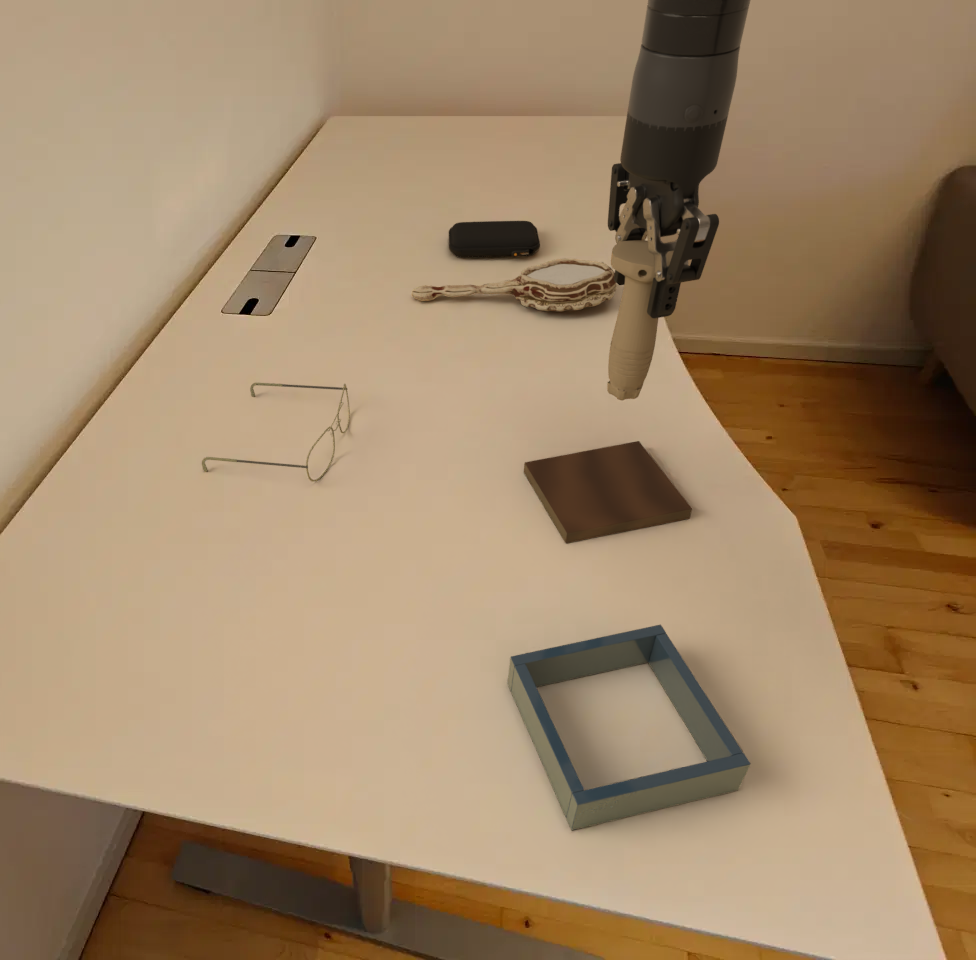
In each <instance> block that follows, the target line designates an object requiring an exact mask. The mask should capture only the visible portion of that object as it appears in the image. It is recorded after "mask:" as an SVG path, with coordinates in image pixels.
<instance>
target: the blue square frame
mask: <svg viewBox="0 0 976 960" xmlns="http://www.w3.org/2000/svg"><path fill="white" fill-rule="evenodd" d="M643 664H648V665H649V667H650V669H651V670H652V672H653V673H654V675H655V676H656V677H655V678H657V680H658V682H659V683H660V685H661V686H662V687H661V688H663V690H664V692H665V693H666V695H667V697H668V699H669V700H670V702H671V703H672V705H673V706H674V709H675V710H676V711H677V713H678V715H679V717H680V718H681V719H682V722H683V723H684V724H685V726H686V728H687V730H688V731H689V733H690V734H691V736H692V738H693V740H694V741H695V744H696V745H697V746H698V748H699V750H700V751H701V753H702V755H703V757H704V758H705V759H706V761H703V762H699V763H695V764H690V765H685V766H682V767H677V768H674V769H673V768H672V769H669V770H665V771H660V772H657V773H653V774H648V775H645V776H644V775H643V776H639V777H634V778H631V779H627V780H623V781H618V782H614V783H613V782H612V783H610V784H606V785H601V786H597V787H596V786H595V787H592V788H589V789H584V786H583V784H582V782H581V779H580V777H579V775H578V774H577V773H578V772H577V771H576V769H575V767H574V765H573V763H572V761H571V759H570V756H569V755H568V752H567V750H566V747H565V745H564V744H563V743H564V742H563V741H562V738H561V737H560V735H559V733H558V731H557V729H556V726H555V725H554V724H555V723H554V722H553V720H552V717H551V715H550V713H549V711H548V709H547V707H546V705H545V702H544V700H543V698H542V696H541V694H540V691H539V690H538V687H542V686H549V685H552V684H557V683H561V682H565V681H570V680H575V679H580V678H583V677H589V676H593V675H597V674H602V673H606V672H612V671H615V670H616V671H617V670H620V669H626V668H629V667H634V666H635V667H636V666H638V665H643ZM507 674H508V675H507V676H508V677H507V682H506V685H507V687H508V688H509V691H510V693H511V695H512V698H513V699H514V702H515V704H516V707H517V709H518V711H519V714H520V717H521V718H522V721H523V723H524V725H525V727H526V730H527V732H528V734H529V736H530V737H529V738H530V739H531V741H532V743H533V746H534V748H535V750H536V752H537V755H538V758H539V759H540V762H541V765H542V766H543V768H544V771H545V773H546V776H547V778H548V780H549V783H550V784H551V787H552V790H553V792H554V794H555V797H556V799H557V801H558V803H559V806H560V808H561V810H562V812H563V815H564V818H565V820H566V821H567V824H568V826H569V828H570V830H571V831H576V830H579V829H583V828H587V827H591V826H597V825H601V824H604V823H608V822H612V821H617V820H621V819H625V818H630V817H633V816H638V815H642V814H645V813H649V812H655V811H658V810H663V809H667V808H671V807H675V806H679V805H683V804H684V805H685V804H688V803H692V802H696V801H700V800H704V799H709V798H713V797H717V796H720V795H725V794H729V793H734V792H737V791H739V789H740V787H741V785H742V783H743V781H744V779H745V777H746V775H747V773H748V772H749V769H750V768H751V765H752V764H751V762H750V760H749V759H748V757H747V755H746V754H745V753H744V751H743V750H742V748H741V746H740V745H739V743H738V742H737V741H736V739H735V737H734V736H733V734H732V732H731V731H730V730H729V727H727V725H726V723H725V721H724V720H723V719H722V718H721V715H720V714H719V712H718V711H717V709H716V707H715V706H714V704H713V703H712V702H711V701H710V700H711V699H709V697H708V696H707V694H706V693H705V691H704V689H703V688H702V686H701V685H700V683H699V681H698V680H697V678H696V677H695V675H694V674H693V672H692V670H691V669H690V668H689V666H688V664H687V662H686V661H685V660H684V658H683V657H682V656H681V654H680V652H679V650H678V649H677V647H676V646H675V644H674V643H673V641H672V640H671V638H670V637H669V635H668V633H667V631H666V630H665V629H664V627H663V626H662V624H655V625H651V626H646V627H642V628H638V629H637V628H636V629H633V630H628V631H623V632H619V633H613V634H609V635H605V636H602V637H596V638H591V639H585V640H581V641H577V642H571V643H567V644H562V645H558V646H553V647H548V648H544V649H543V648H542V649H538V650H535V651H529V652H525V653H519V654H515V655H511V656H510V657H509V665H508V673H507Z"/></svg>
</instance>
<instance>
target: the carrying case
mask: <svg viewBox="0 0 976 960" xmlns="http://www.w3.org/2000/svg"><path fill="white" fill-rule="evenodd" d="M540 248H541V241H540V237H539V232H538V228H537V227H536V226H535V225H534V223H533V222H531V221H530V220H529V221H528V220H489V221H488V220H487V221H485V220H484V221H460V222H456V223H455V224H453V225H452V226H451V227H450V228H449V230H448V250H449V252H450V253H452V254H453V256H455V257H457V258H463V259H464V258H468V259H469V258H471V259H472V258H521V257H530V256H533V255H535V254H536V253H537V252H538V251H539V250H540Z"/></svg>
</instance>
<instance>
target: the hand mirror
mask: <svg viewBox="0 0 976 960" xmlns="http://www.w3.org/2000/svg"><path fill="white" fill-rule="evenodd" d="M614 274H615V270H614V269H613V268H612V267H610V266H609V265H608V264H606V263H604V262H601V261H594V260H586V259H577V258H557V259H552V260H549V261H546V262H543V263H540V264H537V265H531V266H528V267H526V268H524V269H522V271H520V274H519V275H518V276H517V277H515V278H513V279H506V280H502V281H498V282H491V283H490V282H489V283H483V284H481V285H475V284H462V285H461V284H460V285H459V284H458V285H457V284H456V285H455V284H454V285H453V284H452V285H450V284H449V285H448V284H446V285H442V286H435V285H420V286H417V287H415V288H413V289H412V290H411V296H412V298H414V299H415V300H418V301H422V302H427V301H433V300H435V299H436V298H438V297H440V296H445V297H447V298H458V297H469V296H473V295H475V294H477V295H511V296H513V297H514V298H515V300H517V301H519V302H520V305H522V306H523V307H525V308H533V309H536V310H537V311H542V312H566V311H579V310H583V309H585V308H591V307H595V306H599V305H600V304H601V303H602V302H605V301H609V300H611V299H612V298H613V297H614V296H615V292H616V291H617V290H618V289H617V288H618V287H617V283H616V282H615V281H614Z"/></svg>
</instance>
